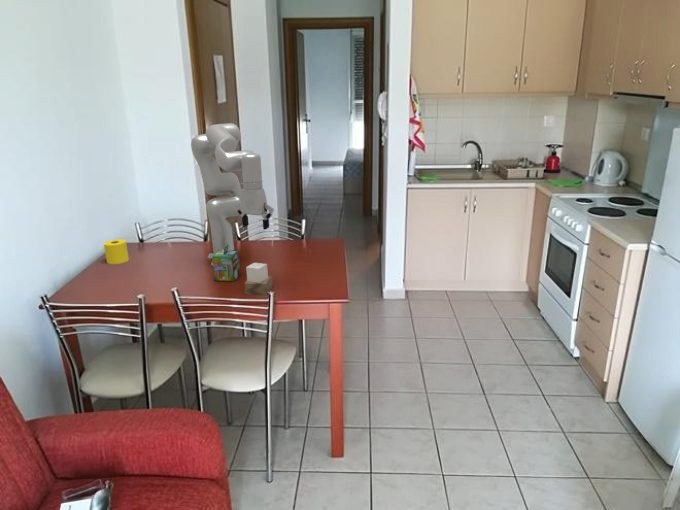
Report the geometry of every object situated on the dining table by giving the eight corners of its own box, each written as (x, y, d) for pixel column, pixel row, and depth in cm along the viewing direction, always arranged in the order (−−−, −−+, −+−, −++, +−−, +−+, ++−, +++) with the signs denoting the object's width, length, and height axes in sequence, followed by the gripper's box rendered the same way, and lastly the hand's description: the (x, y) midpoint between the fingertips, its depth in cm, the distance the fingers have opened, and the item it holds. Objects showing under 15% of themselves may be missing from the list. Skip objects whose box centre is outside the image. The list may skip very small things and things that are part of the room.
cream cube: (247, 281, 213) (246, 267, 211) (255, 276, 218) (254, 262, 216) (260, 282, 211) (258, 268, 209) (268, 277, 216) (266, 264, 214)
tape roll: (119, 264, 252) (115, 246, 249) (102, 263, 256) (99, 244, 253) (133, 258, 261) (130, 240, 258) (116, 256, 265) (113, 238, 262)
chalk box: (221, 273, 236) (217, 242, 231) (241, 274, 235) (238, 242, 230) (214, 281, 227) (210, 248, 223) (234, 281, 226) (231, 248, 221)
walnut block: (245, 295, 212) (244, 283, 211) (251, 286, 221) (250, 275, 219) (266, 295, 211) (265, 283, 210) (272, 287, 220) (271, 275, 218)
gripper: (228, 185, 206) (232, 227, 212) (266, 189, 199) (269, 232, 205) (239, 182, 213) (243, 222, 218) (276, 185, 206) (279, 227, 212)
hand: (255, 227), depth 212 cm, fingers open, 9 cm apart
